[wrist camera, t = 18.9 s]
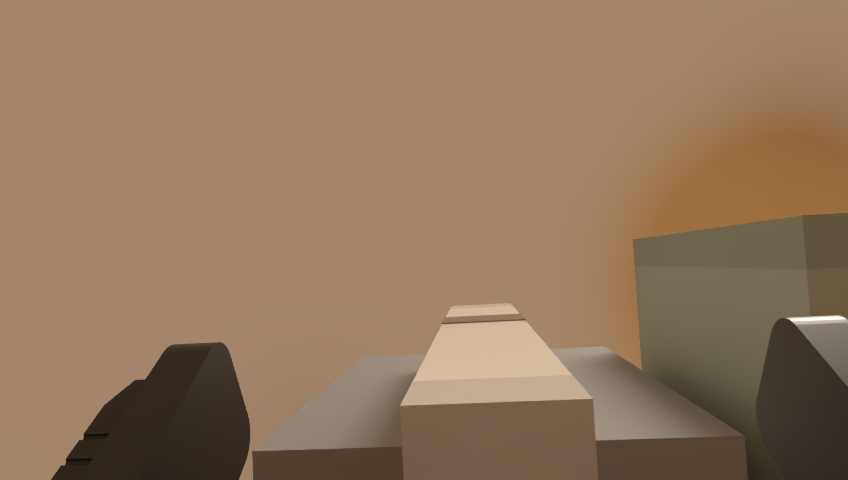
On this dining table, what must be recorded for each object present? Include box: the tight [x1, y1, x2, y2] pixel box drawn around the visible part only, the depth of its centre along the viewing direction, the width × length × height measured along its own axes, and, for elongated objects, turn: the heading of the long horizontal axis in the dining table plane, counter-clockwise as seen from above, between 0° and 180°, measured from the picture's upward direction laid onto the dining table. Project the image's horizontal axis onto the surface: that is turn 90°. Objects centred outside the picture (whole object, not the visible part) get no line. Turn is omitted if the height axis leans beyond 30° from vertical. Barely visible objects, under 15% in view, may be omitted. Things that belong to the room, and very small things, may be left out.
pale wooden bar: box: [400, 303, 598, 480], centre depth 20 cm, size 22×3×3 cm, turn 175°
